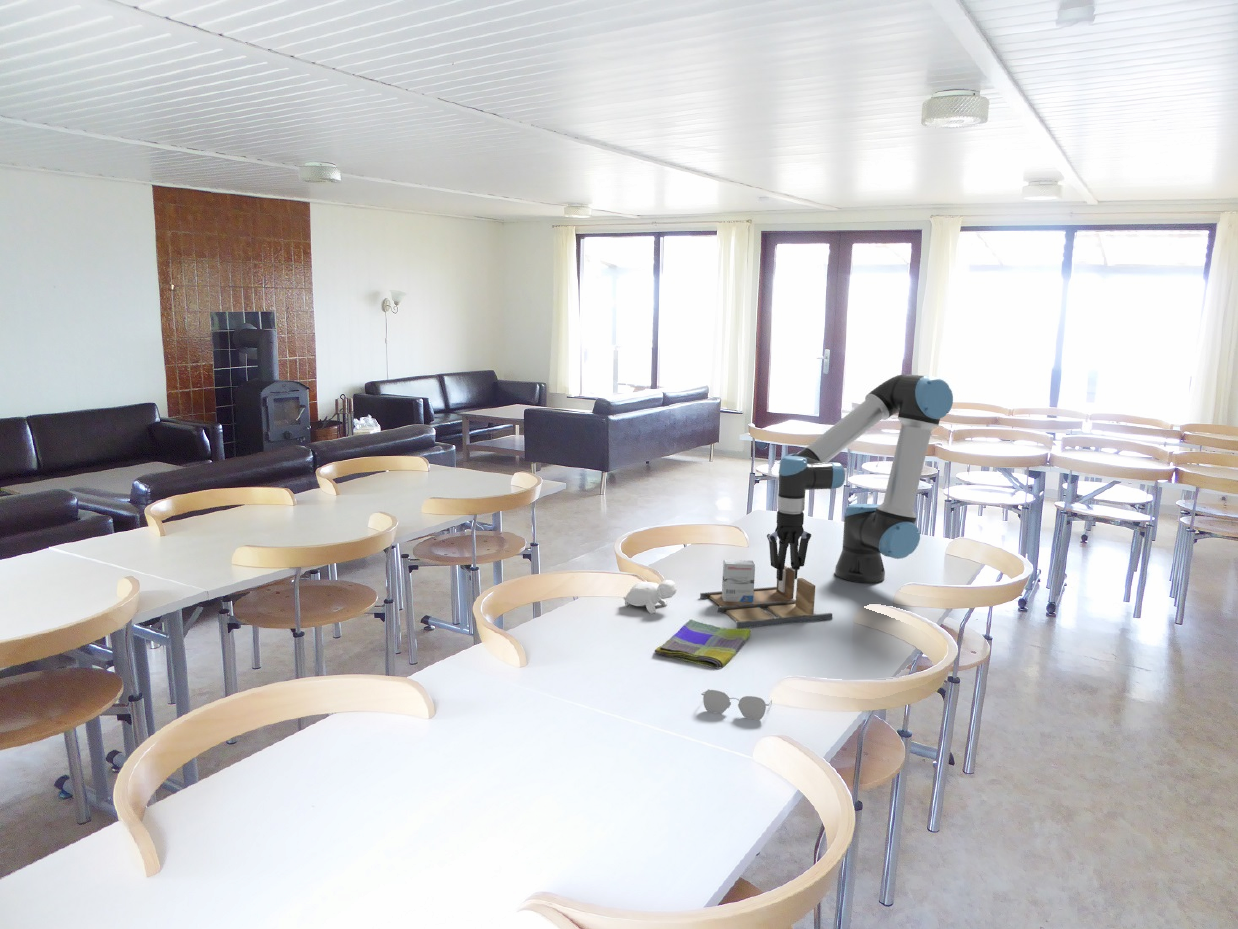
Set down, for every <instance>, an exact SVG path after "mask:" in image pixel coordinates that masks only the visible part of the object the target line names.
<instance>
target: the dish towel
mask: <svg viewBox="0 0 1238 929" xmlns="http://www.w3.org/2000/svg"><path fill="white" fill-rule="evenodd" d="M751 633H752V630H751V629H749V628H724V627H719V626H716V625H712V624H707V623H704V622H701V621H696V620H694V619H692V618H691V619H689V621H687V622H685V624H683V625H682V627H681V628H679V630H678V631H676V633H674V634H673V635H672V636H671V637H670V638H669V639H667V640H666V641H665V642H664V643H663V644H662V645H659V646H658V647H657V648H656V649H654V653H657V654H659V655H661V656H665V657H669V658H673V659H677V660H681V661H686V662H691V663H693V664H697V665H700V666H701V665H702V666H704V667H710V668H713V669H720V668H721V669H722V668H724V667H725V665H727V664H729V662H730V661H731V660H732V659H733V658H734V657H735V656H736V655H737V654H738V652H740V650H741V649H742V648H743V646H744V645H745V643H746V642H747V641H748V639H749V637H750V636H751Z"/></svg>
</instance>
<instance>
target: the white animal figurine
mask: <svg viewBox="0 0 1238 929" xmlns="http://www.w3.org/2000/svg"><path fill="white" fill-rule="evenodd" d="M677 590H678V589H677V585H676V583H675V581H673V580H669V579H664V580H663V581H661V582H660V583H659V584H658V583H657V582H651V581H639V582H637V583H635V584H634V585H633V586H632V587H631V589H630V590H629V591H628V592H627V594H626V596H623V598H622V599H623V600H624V604H625V607H626V606H627V607H628V606H629V604H630V605H633V606H635V607H646V610H647V611H648V613H649V614H655V613H656V611H657V609H656V606H655V605H656V604H657V603H658V604H660V605H661V606H663V607H666V606H667V605H668V602H667V600H666V599H670V598H672V597H674V596H675V595H676V594H677Z"/></svg>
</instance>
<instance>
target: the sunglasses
mask: <svg viewBox="0 0 1238 929" xmlns="http://www.w3.org/2000/svg"><path fill="white" fill-rule="evenodd" d="M700 695H701V696H703V698H702V700H703V701H702V702H703V707H704V709H705V710H706V712H709V713H715V714H720V715H722V714H724V713H725V712H726V710H727V709H729V708H730V706H731V705H732V702H731V700H732V699H734V700H737V701H738V704H737V707H738V709H739V711H740V713H741V715H742V716H743V717H744V718H745V719H749V720H754V719H756V721H760V720H762V719H763V717H764V716H765V713H766V709H767V706H768V707H769V706H770V705H772V704H773V703H772V701H773V699H771V700H770V702H769V703H766V701H765V700H764V699H763V698H761V697H757V696H753V695H745V696H743V697H741V698H740V699H739V698H736V697H729V696H728V694H726V693H725V692H723V691H720V690H716V689H710V688H709V689H707V690H705V691H703V692H702V693H701V694H700Z"/></svg>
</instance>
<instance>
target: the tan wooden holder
mask: <svg viewBox="0 0 1238 929" xmlns="http://www.w3.org/2000/svg"><path fill="white" fill-rule="evenodd" d="M784 570H786V579H785V592H784V593H783V592H781V591H780V590H778V585H779V580H777V579H776V587H777V589H776V590H766V591H755V592H754V598H753V602H733V601H723V599H722V594H720V595H710V598H709V599H710V600H712V601H713V602H715V604H716V605H718V606H719V607H721V606H732V605H743V604H754V603H766V602H777V601H788V600H796V598H795V599H794V592H795V583H794V577H795V571H793V570H791V569H789V568H788V566H786V565H785V566H784Z"/></svg>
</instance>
